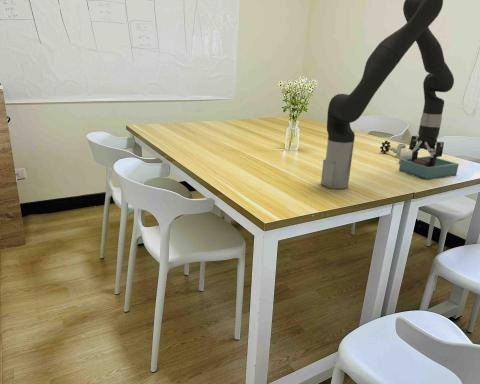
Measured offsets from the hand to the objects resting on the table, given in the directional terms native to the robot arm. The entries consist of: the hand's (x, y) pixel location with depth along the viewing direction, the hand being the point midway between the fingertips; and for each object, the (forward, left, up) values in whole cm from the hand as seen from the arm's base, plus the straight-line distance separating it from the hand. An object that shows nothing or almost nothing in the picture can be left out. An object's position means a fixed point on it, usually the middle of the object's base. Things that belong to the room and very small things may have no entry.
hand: (422, 163), depth 161 cm
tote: (+4, 0, -5) cm, 6 cm away
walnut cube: (0, 0, -4) cm, 4 cm away
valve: (+13, +27, -5) cm, 31 cm away
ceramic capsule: (+6, +14, -5) cm, 16 cm away
